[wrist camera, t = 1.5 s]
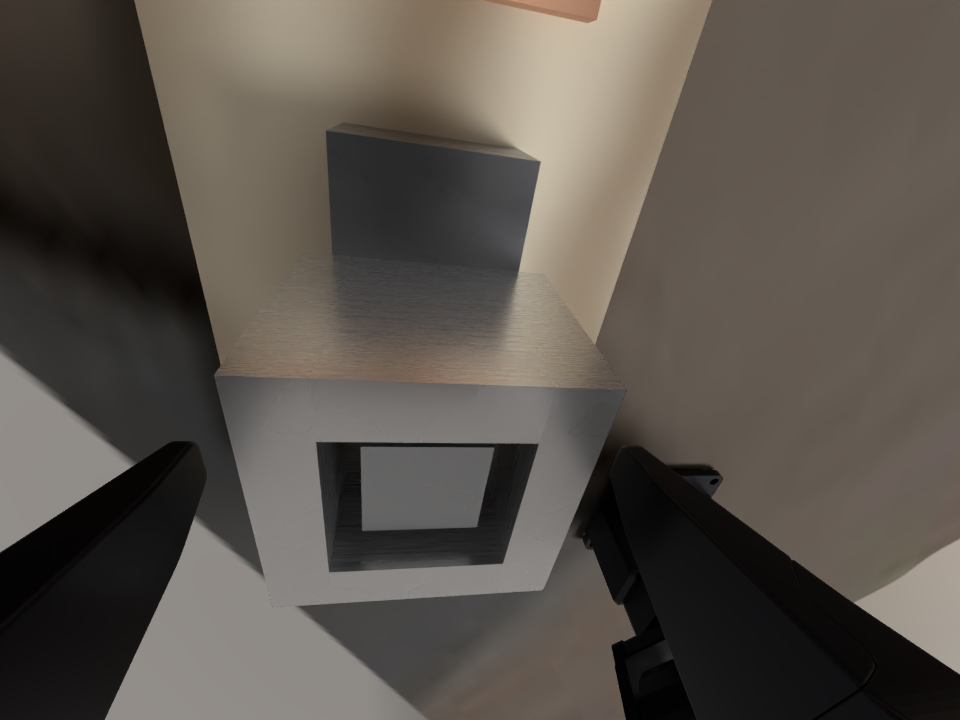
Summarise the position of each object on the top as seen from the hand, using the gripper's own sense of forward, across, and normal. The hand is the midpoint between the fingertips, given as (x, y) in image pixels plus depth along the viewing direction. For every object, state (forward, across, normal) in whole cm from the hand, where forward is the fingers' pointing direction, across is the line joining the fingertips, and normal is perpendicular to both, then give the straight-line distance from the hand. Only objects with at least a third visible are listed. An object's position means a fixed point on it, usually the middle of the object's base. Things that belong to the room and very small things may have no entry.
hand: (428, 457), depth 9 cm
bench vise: (+6, 0, +1) cm, 6 cm away
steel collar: (+4, 0, 0) cm, 4 cm away
